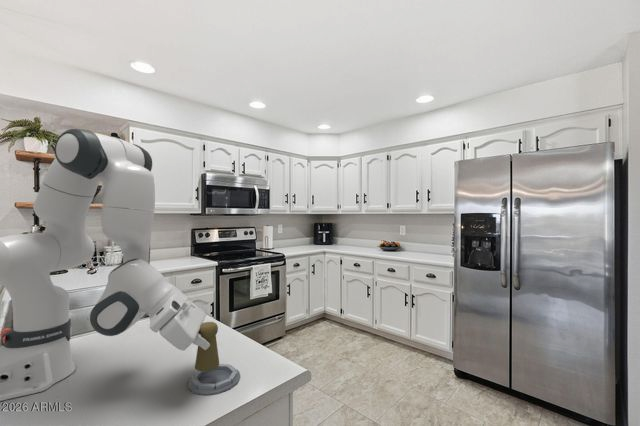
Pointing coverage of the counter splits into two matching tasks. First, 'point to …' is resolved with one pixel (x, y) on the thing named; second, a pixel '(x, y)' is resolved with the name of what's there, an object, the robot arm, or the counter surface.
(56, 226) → the robot arm
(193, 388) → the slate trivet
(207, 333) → the olive brown pepper mill
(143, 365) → the counter surface
